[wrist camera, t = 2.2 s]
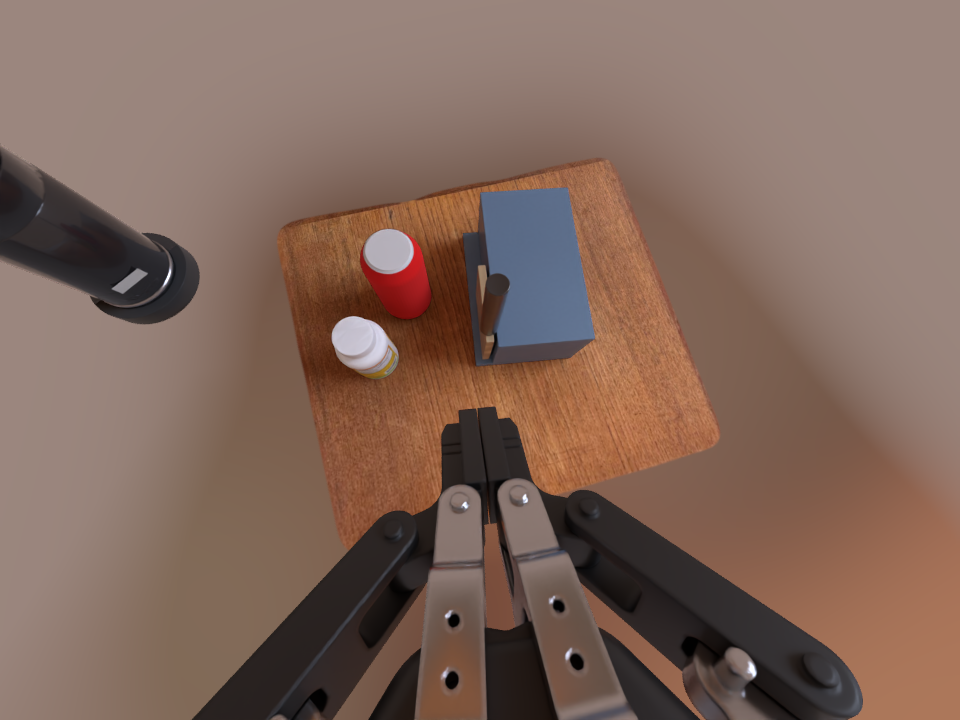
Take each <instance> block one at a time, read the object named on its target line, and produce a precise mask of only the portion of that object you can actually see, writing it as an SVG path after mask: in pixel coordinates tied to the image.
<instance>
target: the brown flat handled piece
mask: <svg viewBox="0 0 960 720" xmlns="http://www.w3.org/2000/svg"><path fill="white" fill-rule="evenodd" d="M509 289H510V281H509V279H508V278H507V277H506V276H505V275H503V274H501V273H495V274H492V275H490V276H489V277H488V278H487V274H486V266H485V265H480V266H478V272H477V286H476V303H477V312H478V322H479V331H480V340H481V350H482V359H483V360H484V359H489V357H490V354H491V350H492V347H493V344H494V334H495V333H496V332H497V330H498V326H499V323H500V320H501V316H502V313H503V310H504V306H505V303H506V299H507V296H508V293H509Z"/></svg>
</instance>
